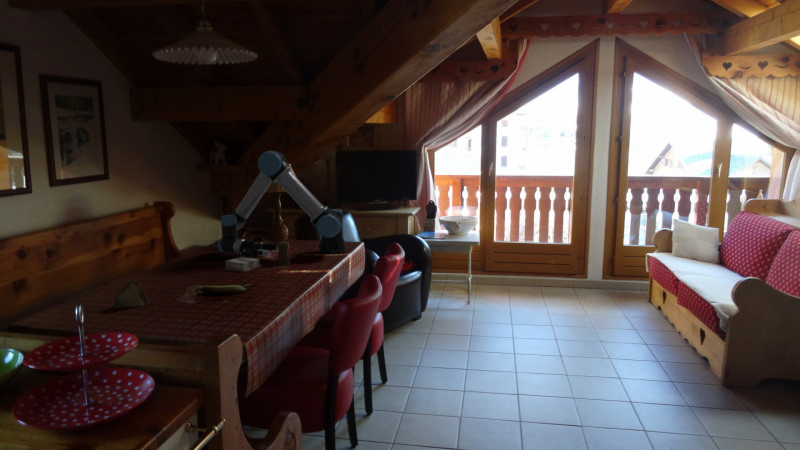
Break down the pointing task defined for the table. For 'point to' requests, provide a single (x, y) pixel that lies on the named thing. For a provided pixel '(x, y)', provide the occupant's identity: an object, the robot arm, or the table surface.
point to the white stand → (242, 264)
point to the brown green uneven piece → (212, 291)
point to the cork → (283, 253)
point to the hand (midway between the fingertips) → (277, 250)
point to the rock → (130, 296)
